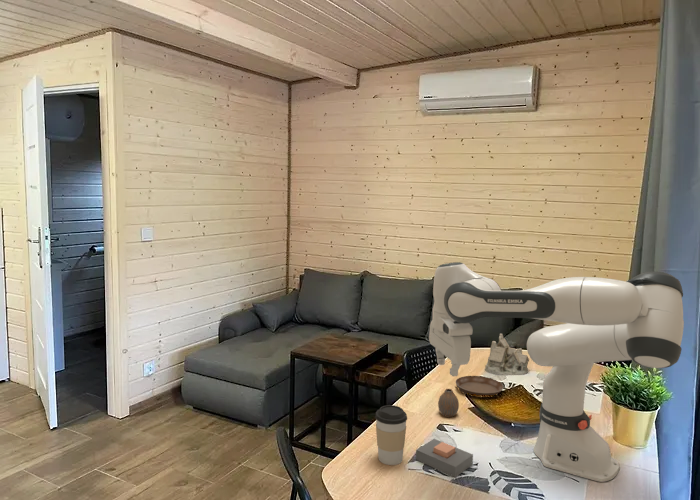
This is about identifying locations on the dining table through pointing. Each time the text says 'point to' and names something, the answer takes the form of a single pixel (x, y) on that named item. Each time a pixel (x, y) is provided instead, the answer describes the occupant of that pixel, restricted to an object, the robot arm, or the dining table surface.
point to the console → (444, 459)
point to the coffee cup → (390, 434)
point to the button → (444, 450)
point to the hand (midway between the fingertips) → (447, 369)
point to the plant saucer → (479, 385)
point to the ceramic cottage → (506, 359)
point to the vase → (448, 403)
